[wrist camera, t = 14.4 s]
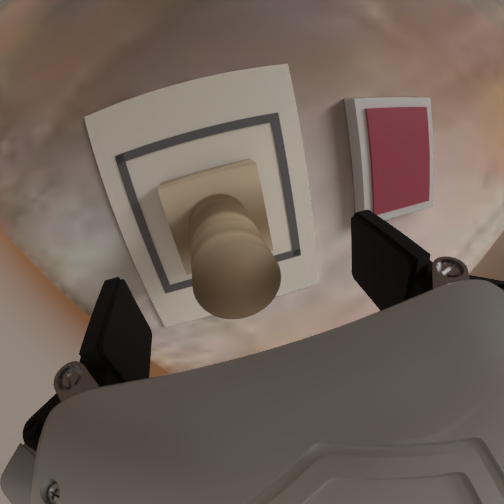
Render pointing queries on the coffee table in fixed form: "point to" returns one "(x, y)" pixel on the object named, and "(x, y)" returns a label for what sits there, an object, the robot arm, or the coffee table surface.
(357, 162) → the ink pad
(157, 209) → the marked card
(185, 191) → the stamp
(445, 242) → the coffee table surface
